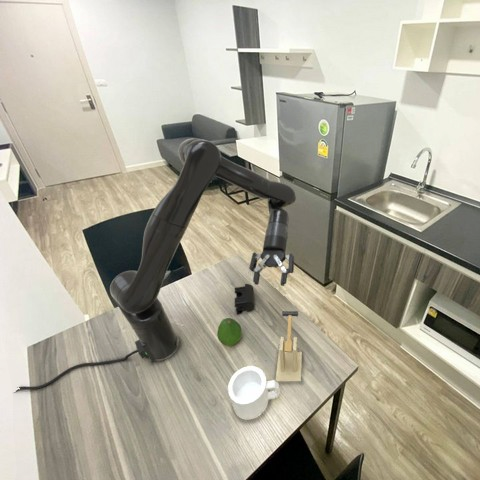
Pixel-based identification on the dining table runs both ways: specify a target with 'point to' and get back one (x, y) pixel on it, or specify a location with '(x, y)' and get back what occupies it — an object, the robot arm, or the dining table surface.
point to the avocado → (229, 332)
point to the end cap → (244, 298)
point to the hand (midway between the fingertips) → (269, 284)
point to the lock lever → (289, 329)
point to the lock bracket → (289, 363)
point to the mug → (251, 392)
